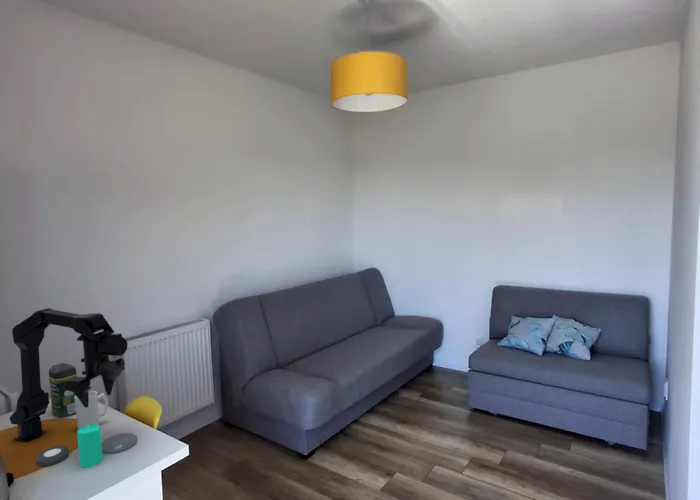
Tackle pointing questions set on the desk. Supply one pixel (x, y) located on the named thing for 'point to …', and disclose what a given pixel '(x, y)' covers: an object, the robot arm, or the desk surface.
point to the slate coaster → (118, 443)
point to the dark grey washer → (52, 456)
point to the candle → (89, 445)
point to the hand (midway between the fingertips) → (98, 400)
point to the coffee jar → (62, 389)
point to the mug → (89, 409)
